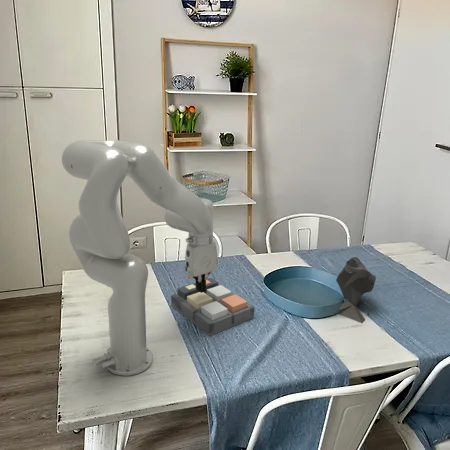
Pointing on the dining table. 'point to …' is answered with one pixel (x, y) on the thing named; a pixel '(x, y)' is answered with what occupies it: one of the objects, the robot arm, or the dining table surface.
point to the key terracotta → (234, 303)
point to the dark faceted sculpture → (354, 287)
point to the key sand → (199, 300)
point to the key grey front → (214, 311)
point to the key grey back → (218, 293)
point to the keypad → (199, 319)
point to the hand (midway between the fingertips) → (200, 290)
